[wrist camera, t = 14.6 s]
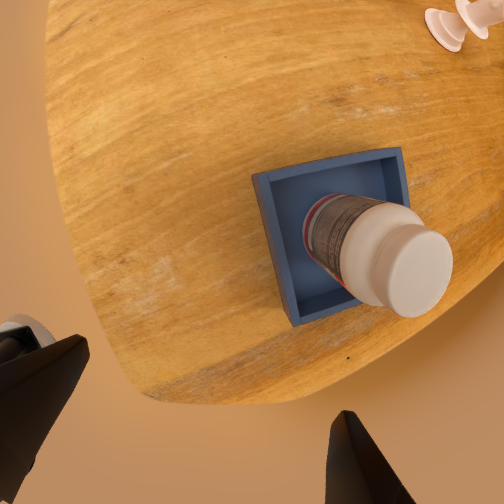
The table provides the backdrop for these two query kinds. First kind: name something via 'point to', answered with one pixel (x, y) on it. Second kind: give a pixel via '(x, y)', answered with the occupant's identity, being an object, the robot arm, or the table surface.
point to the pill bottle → (379, 252)
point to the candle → (464, 21)
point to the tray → (297, 206)
